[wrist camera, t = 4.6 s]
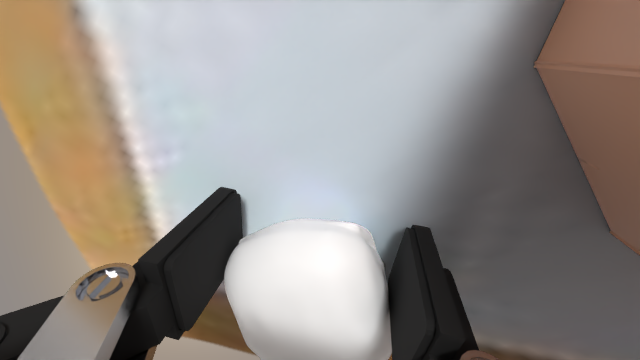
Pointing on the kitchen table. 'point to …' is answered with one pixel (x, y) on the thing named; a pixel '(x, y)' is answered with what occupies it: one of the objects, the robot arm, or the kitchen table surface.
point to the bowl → (600, 101)
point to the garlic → (310, 292)
